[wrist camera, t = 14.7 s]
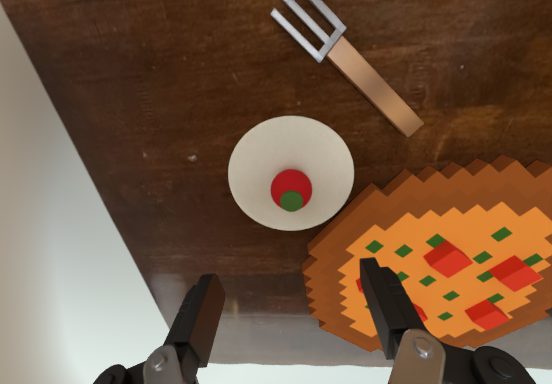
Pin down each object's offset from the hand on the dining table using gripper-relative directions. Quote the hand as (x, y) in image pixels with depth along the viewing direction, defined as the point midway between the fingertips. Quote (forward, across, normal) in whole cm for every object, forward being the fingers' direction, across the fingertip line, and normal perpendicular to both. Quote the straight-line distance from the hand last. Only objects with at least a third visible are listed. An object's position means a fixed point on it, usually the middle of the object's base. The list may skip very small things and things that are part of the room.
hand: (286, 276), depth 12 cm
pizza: (+12, -16, +17) cm, 26 cm away
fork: (+12, -7, -9) cm, 17 cm away
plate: (+12, 0, 0) cm, 13 cm away
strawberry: (+12, 0, 0) cm, 12 cm away
